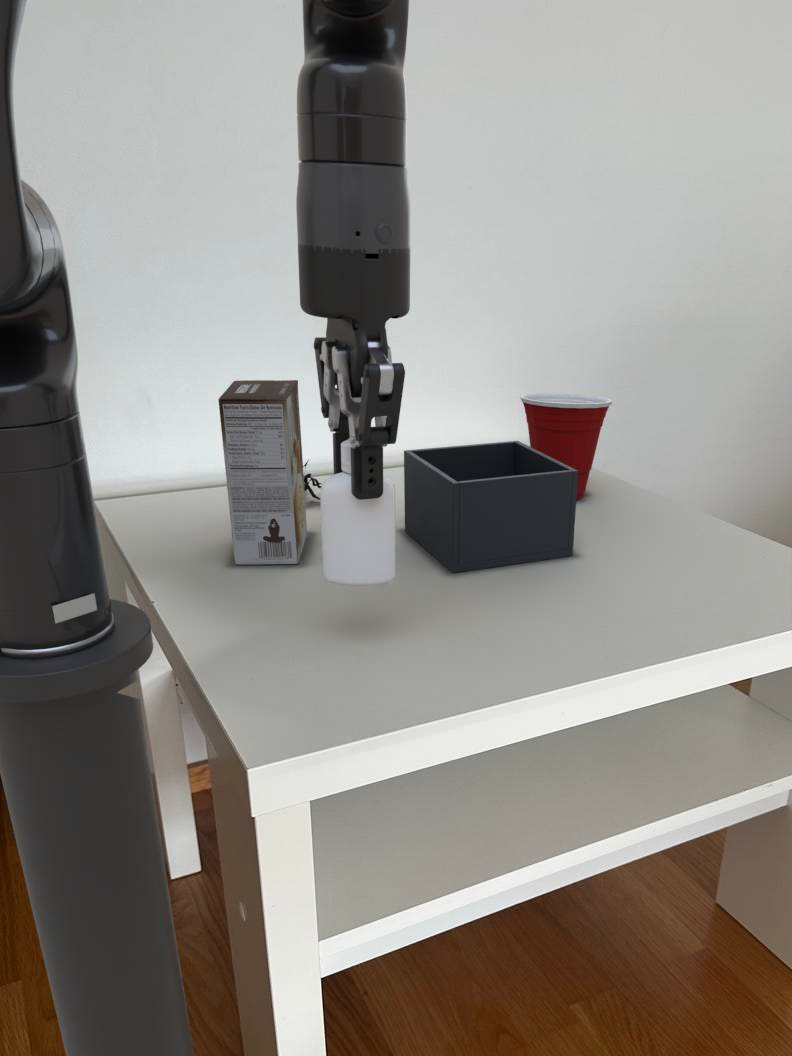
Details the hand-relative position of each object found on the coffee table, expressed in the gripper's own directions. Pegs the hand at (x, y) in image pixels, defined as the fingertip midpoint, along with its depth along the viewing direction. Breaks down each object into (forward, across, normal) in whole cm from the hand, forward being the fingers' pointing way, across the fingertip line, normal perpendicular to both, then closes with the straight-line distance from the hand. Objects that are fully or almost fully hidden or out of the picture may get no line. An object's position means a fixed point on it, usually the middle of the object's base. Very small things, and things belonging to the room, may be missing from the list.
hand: (358, 488), depth 70 cm
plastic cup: (+12, -31, +35) cm, 49 cm away
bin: (+13, -18, +20) cm, 29 cm away
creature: (+13, -39, +5) cm, 41 cm away
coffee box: (+13, -24, -2) cm, 27 cm away
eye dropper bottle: (+7, 0, 0) cm, 7 cm away
